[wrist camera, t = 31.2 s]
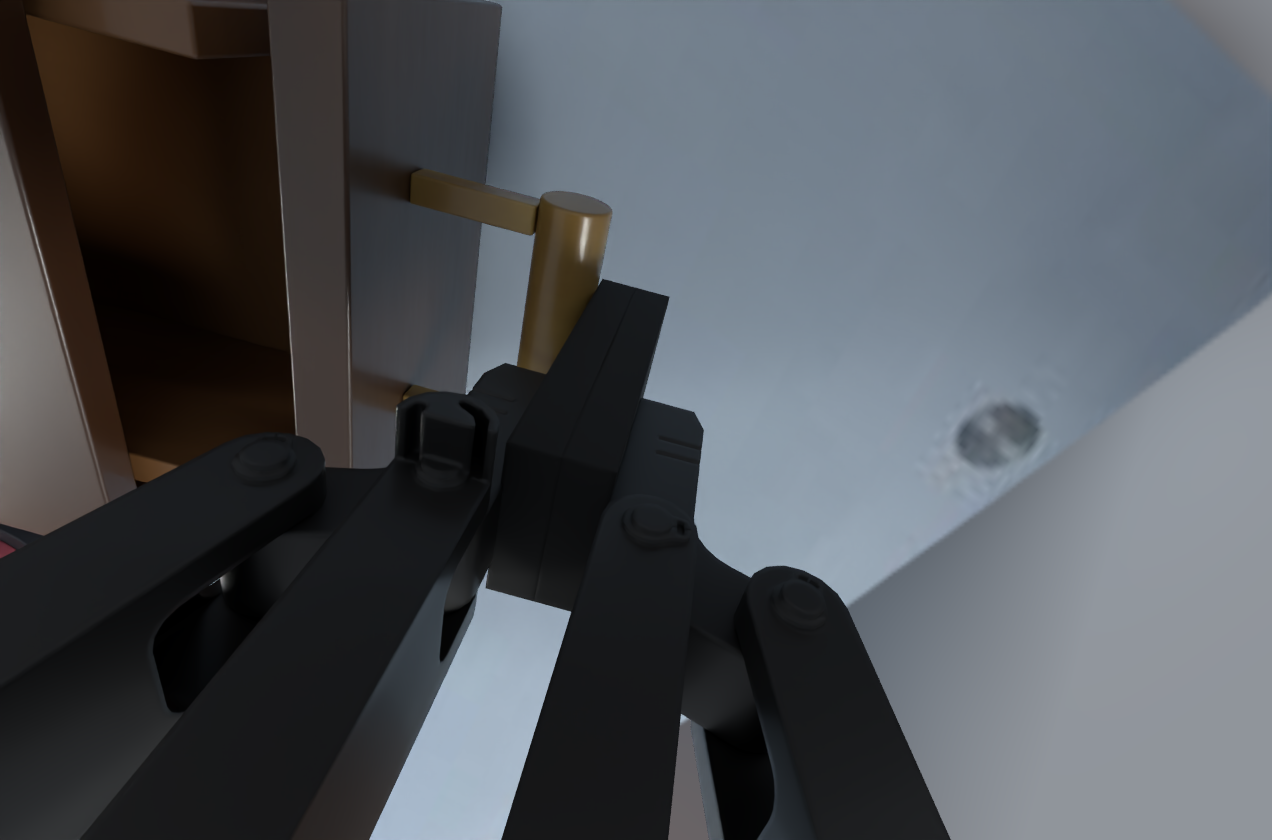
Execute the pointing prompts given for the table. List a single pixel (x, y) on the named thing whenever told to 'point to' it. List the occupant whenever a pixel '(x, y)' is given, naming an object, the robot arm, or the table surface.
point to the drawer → (292, 212)
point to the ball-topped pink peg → (14, 539)
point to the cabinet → (47, 321)
